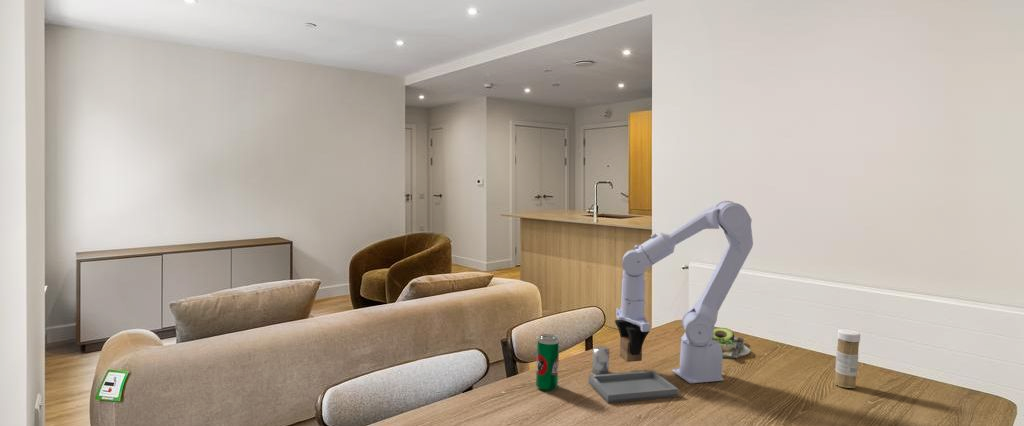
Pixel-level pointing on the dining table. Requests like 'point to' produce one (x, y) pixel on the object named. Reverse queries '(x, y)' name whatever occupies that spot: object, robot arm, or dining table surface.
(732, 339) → the salad plate
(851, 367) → the sprinkles bottle
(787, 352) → the dining table surface
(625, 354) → the walnut block
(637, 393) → the tray
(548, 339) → the soda can
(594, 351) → the steel cylinder
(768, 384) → the dining table surface
